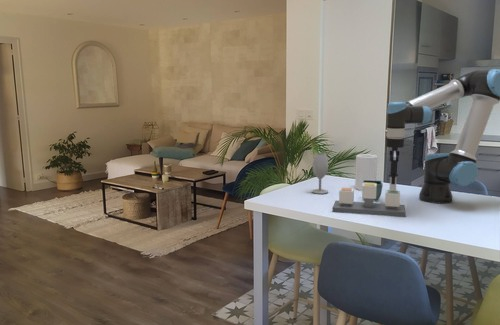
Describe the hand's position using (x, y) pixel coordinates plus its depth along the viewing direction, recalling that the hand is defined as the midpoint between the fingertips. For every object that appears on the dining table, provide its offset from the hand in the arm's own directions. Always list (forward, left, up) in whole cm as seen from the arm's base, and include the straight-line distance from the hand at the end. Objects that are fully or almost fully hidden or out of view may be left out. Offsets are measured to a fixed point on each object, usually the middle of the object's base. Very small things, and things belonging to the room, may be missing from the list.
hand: (392, 190), depth 189 cm
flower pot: (+9, -20, -10) cm, 24 cm away
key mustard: (+10, 0, -3) cm, 10 cm away
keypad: (+10, 0, -10) cm, 14 cm away
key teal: (0, 0, -6) cm, 6 cm away
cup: (+13, -44, -10) cm, 47 cm away
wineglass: (+36, -29, -10) cm, 47 cm away
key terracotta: (+20, 0, -6) cm, 21 cm away
